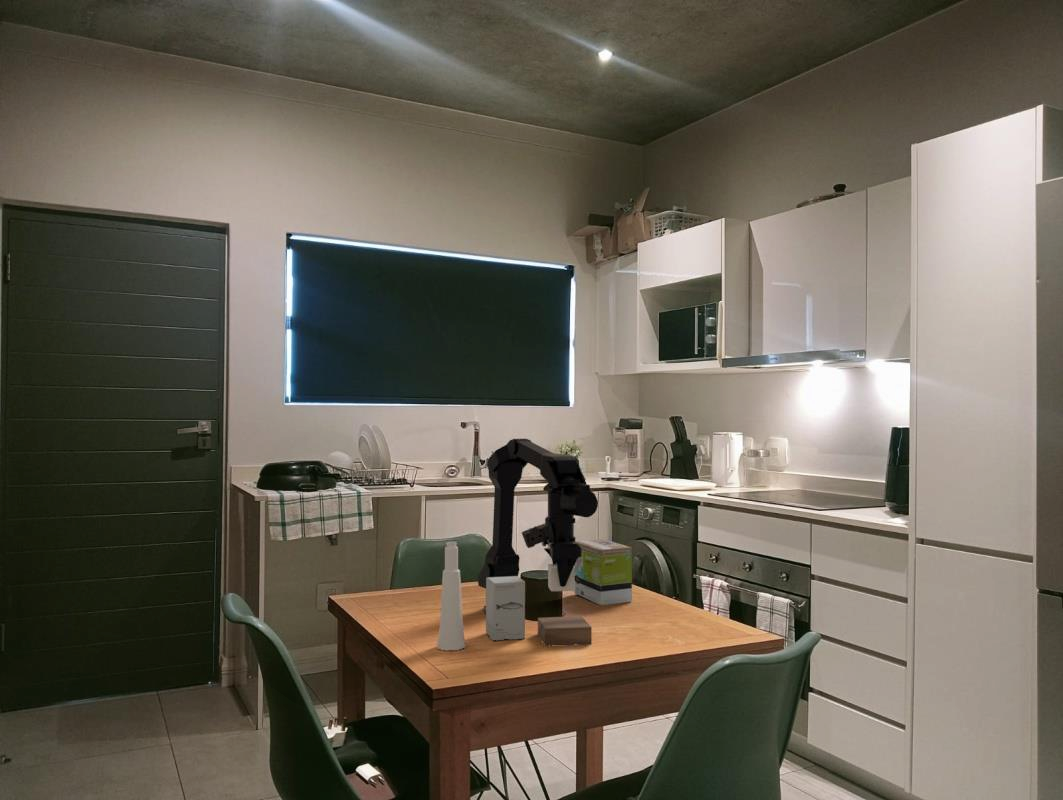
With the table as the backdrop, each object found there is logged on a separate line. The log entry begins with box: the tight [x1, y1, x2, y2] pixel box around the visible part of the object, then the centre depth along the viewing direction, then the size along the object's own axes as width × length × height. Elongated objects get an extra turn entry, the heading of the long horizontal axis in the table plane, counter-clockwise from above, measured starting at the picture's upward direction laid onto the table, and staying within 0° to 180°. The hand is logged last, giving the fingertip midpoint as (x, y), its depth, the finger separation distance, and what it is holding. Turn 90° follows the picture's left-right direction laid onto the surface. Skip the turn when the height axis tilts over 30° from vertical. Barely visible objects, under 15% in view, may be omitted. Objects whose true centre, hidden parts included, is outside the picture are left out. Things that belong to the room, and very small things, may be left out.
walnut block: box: [537, 615, 593, 647], centre depth 179 cm, size 10×10×4 cm
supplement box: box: [485, 575, 526, 641], centre depth 181 cm, size 7×7×13 cm
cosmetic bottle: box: [436, 541, 466, 651], centre depth 173 cm, size 6×6×22 cm
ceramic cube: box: [547, 563, 574, 592], centre depth 180 cm, size 5×5×5 cm
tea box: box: [573, 539, 633, 606], centre depth 220 cm, size 15×10×15 cm, turn 25°
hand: (560, 584), depth 180 cm, fingers closed on ceramic cube, 5 cm apart
